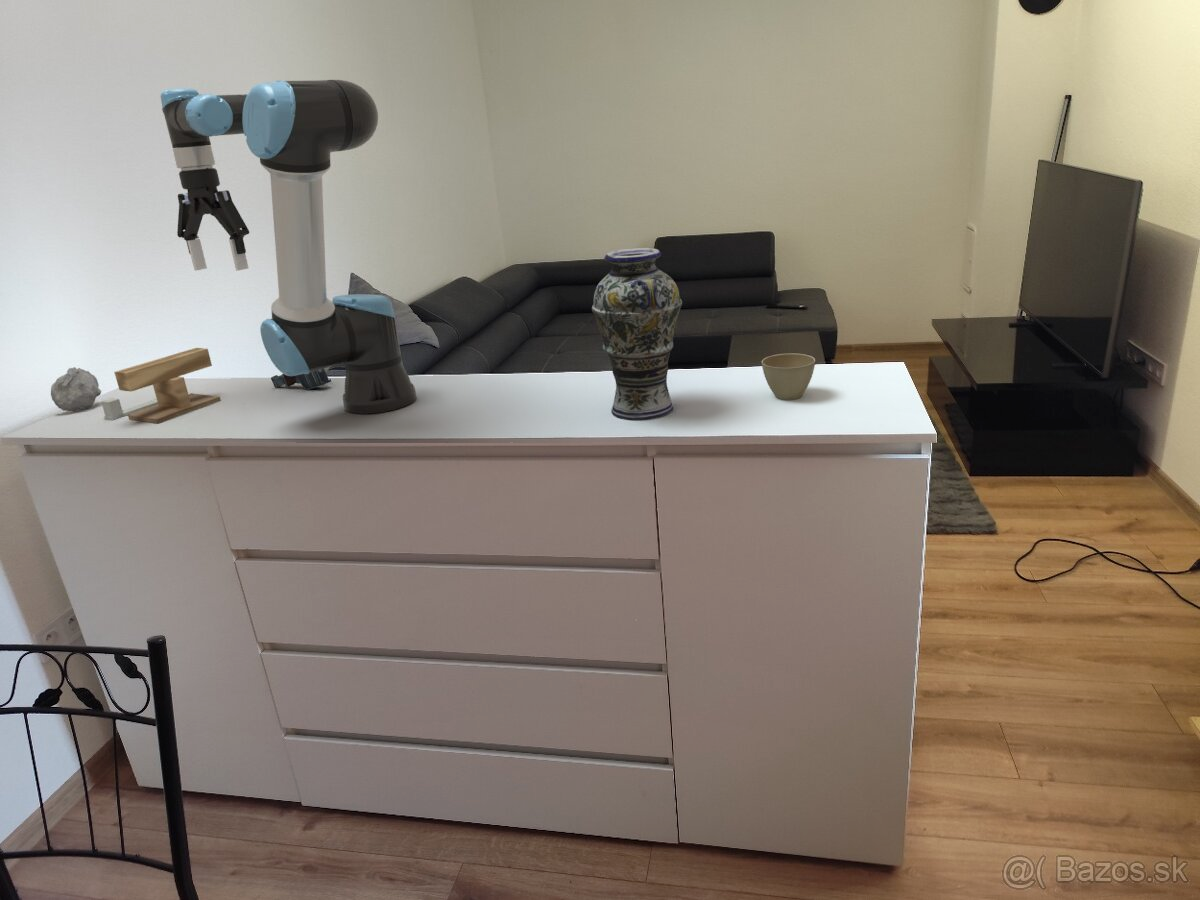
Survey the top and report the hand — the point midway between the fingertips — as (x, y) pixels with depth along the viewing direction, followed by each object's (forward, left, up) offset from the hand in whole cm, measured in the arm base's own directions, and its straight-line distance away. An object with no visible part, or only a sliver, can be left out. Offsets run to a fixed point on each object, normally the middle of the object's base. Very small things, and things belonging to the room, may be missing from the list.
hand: (221, 269), depth 188 cm
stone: (+32, +21, -29) cm, 48 cm away
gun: (-10, -6, -29) cm, 31 cm away
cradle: (+17, +15, -29) cm, 36 cm away
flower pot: (-119, -28, -29) cm, 126 cm away
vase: (-95, -13, -29) cm, 100 cm away
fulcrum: (+7, +15, -29) cm, 33 cm away
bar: (+7, +15, -21) cm, 27 cm away
